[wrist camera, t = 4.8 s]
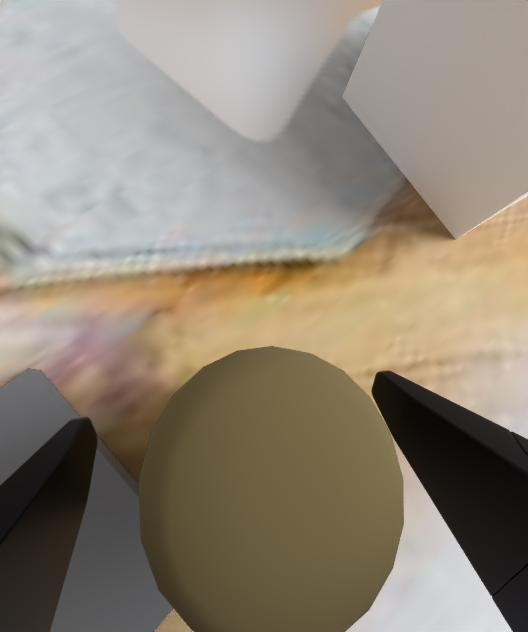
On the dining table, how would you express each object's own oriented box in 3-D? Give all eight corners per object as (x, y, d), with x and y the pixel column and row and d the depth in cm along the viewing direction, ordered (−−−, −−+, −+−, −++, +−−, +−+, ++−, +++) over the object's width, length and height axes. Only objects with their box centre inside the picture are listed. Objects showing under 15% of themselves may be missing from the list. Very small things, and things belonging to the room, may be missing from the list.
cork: (221, 521, 13) (248, 965, 3) (154, 415, 14) (-13, 461, 4) (314, 438, 15) (534, 524, 5) (250, 348, 16) (318, 254, 6)
